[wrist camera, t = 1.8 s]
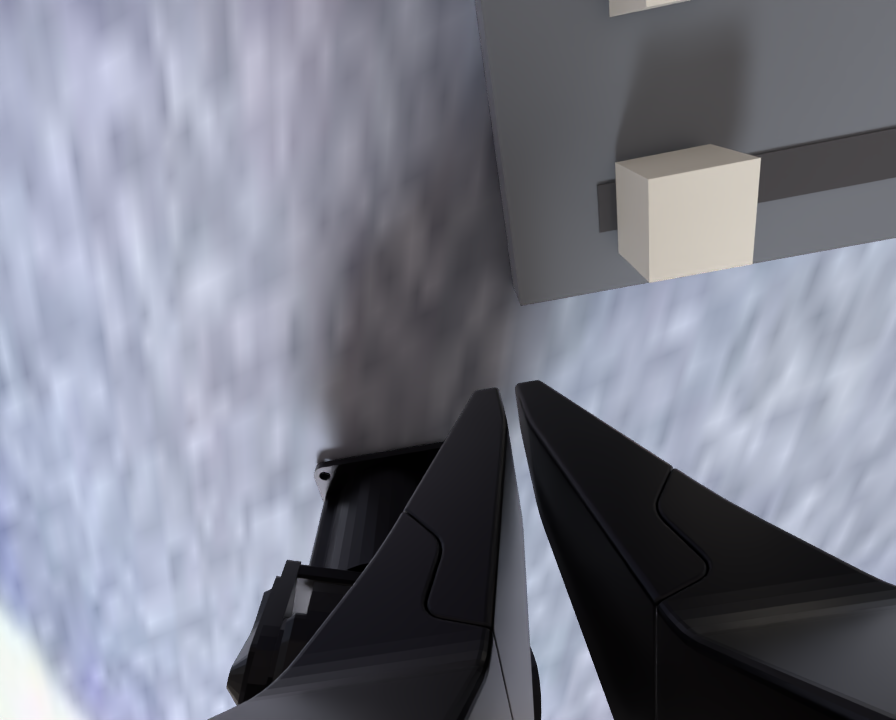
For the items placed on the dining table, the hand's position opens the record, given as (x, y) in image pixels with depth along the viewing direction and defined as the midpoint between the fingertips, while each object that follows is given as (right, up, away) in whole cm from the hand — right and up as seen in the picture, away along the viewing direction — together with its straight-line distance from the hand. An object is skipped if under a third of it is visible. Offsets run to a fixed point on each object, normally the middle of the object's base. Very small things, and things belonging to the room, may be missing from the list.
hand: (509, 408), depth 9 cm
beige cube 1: (+6, +6, +9) cm, 12 cm away
